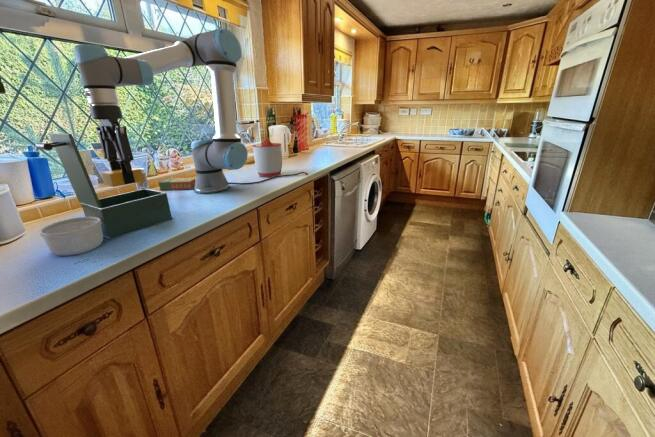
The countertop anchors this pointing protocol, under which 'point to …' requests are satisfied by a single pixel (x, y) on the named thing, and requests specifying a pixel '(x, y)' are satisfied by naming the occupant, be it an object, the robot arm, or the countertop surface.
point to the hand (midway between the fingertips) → (124, 182)
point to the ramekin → (73, 235)
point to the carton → (177, 183)
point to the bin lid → (73, 167)
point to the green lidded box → (130, 211)
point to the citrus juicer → (268, 158)
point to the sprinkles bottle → (144, 183)
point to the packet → (120, 177)
